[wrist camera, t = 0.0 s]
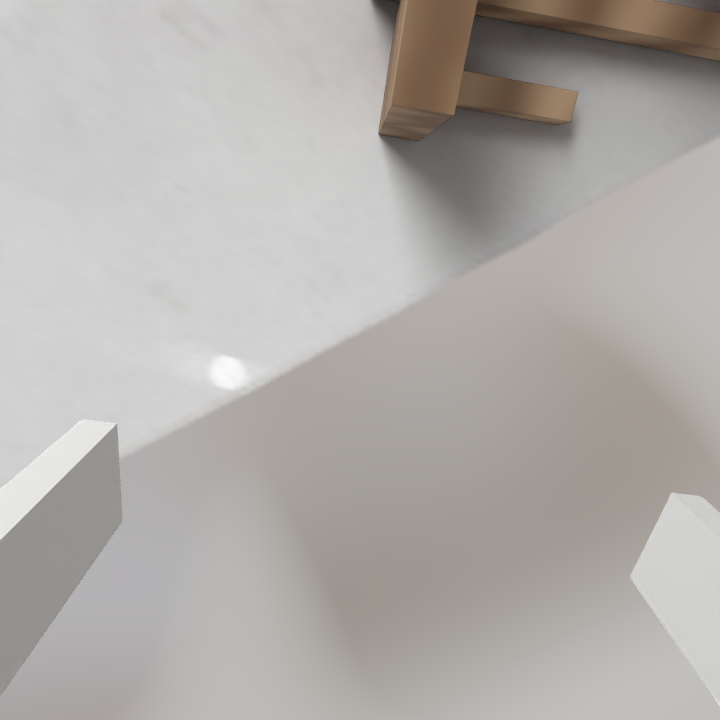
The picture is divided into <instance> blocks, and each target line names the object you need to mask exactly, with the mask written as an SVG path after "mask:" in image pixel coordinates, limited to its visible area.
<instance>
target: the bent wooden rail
mask: <svg viewBox="0 0 720 720" xmlns="http://www.w3.org/2000/svg"><path fill="white" fill-rule="evenodd" d="M393 1H398V2H400V0H393ZM475 14H476V15H481V16H487V17H492V18H497V19H502V20H507V21H513V22H518V23H523V24H528V25H534V26H539V27H544V28H549V29H555V30H560V31H565V32H570V33H576V34H581V35H586V36H591V37H597V38H602V39H607V40H612V41H618V42H623V43H628V44H633V45H639V46H644V47H649V48H654V49H660V50H665V51H670V52H675V53H681V54H686V55H691V56H696V57H701V58H707V59H712V60H717V61H720V13H717V12H712V11H707V10H701V9H696V8H691V7H686V6H681V5H676V4H671V3H666V2H661V1H656V0H478V1H477V5H476V10H475Z"/></svg>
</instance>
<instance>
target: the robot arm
mask: <svg viewBox="0 0 720 720" xmlns="http://www.w3.org/2000/svg"><path fill="white" fill-rule="evenodd" d="M121 522H122V507H121V488H120V469H119V451H118V433H117V424H116V423H108V422H99V421H91V420H83V419H82V420H80V421H79V422H78V423H77V424H76V425H74V426H73V427H72V428H71V429H70V430H69V431H67V432H66V433H65V434H64V435H63V436H62V437H60V438H59V439H58V440H57V441H56V442H55V443H53V444H52V445H51V446H50V447H49V448H48V449H46V450H45V451H44V452H43V453H42V454H40V455H39V456H38V457H37V458H36V459H35V460H33V461H32V462H31V463H30V464H29V465H28V466H26V467H25V468H24V469H23V470H22V471H21V472H19V473H18V474H17V475H16V476H15V477H14V478H12V479H11V480H10V481H9V482H8V483H6V484H5V485H4V486H3V487H2V488H1V489H0V696H1V695H2V693H3V692H4V690H5V689H6V688H7V686H8V685H9V683H10V682H11V680H12V679H13V678H14V676H15V675H16V673H17V672H18V670H19V669H20V667H21V666H22V664H23V663H24V662H25V660H26V659H27V657H28V656H29V655H30V653H31V652H32V650H33V649H34V647H35V646H36V644H37V643H38V642H39V640H40V639H41V637H42V636H43V634H44V633H45V632H46V630H47V629H48V627H49V626H50V624H51V623H52V621H53V620H54V618H55V617H56V616H57V614H58V613H59V611H60V610H61V609H62V607H63V606H64V604H65V603H66V601H67V600H68V598H69V597H70V596H71V594H72V593H73V591H74V590H75V588H76V587H77V585H78V584H79V583H80V581H81V580H82V578H83V577H84V575H85V574H86V573H87V571H88V570H89V568H90V567H91V565H92V564H93V563H94V561H95V560H96V558H97V557H98V555H99V554H100V552H101V551H102V550H103V548H104V547H105V545H106V544H107V542H108V541H109V540H110V538H111V536H112V535H113V534H114V532H115V531H116V529H117V528H118V527H119V525H120V524H121ZM630 579H631V580H632V581H633V583H634V584H635V586H636V587H637V589H638V590H639V591H640V593H641V594H642V596H643V597H644V599H645V600H646V602H647V603H648V604H649V606H650V607H651V609H652V610H653V612H654V613H655V614H656V616H657V617H658V619H659V620H660V622H661V623H662V624H663V626H664V627H665V629H666V630H667V632H668V633H669V634H670V636H671V637H672V639H673V640H674V641H675V643H676V644H677V646H678V647H679V649H680V650H681V651H682V653H683V654H684V656H685V657H686V659H687V660H688V662H689V663H690V665H691V666H692V667H693V668H694V670H695V672H696V673H697V674H698V676H699V677H700V679H701V680H702V682H703V683H704V685H705V686H706V687H707V689H708V690H709V692H710V693H711V695H712V696H713V697H714V699H715V700H716V702H717V703H718V705H719V706H720V513H719V512H718V511H717V510H716V509H715V508H714V507H713V506H712V505H710V504H709V503H708V502H707V501H706V500H705V499H704V498H703V497H701V496H694V495H686V494H678V493H671V495H670V497H669V499H668V501H667V503H666V505H665V507H664V509H663V511H662V513H661V515H660V517H659V519H658V521H657V523H656V525H655V527H654V529H653V532H652V533H651V535H650V537H649V539H648V541H647V543H646V546H645V547H644V550H643V552H642V553H641V556H640V558H639V559H638V562H637V563H636V566H635V568H634V570H633V572H632V574H631V576H630Z"/></svg>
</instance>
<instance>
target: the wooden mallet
mask: <svg viewBox="0 0 720 720" xmlns="http://www.w3.org/2000/svg"><path fill="white" fill-rule="evenodd" d="M477 1H478V0H400V3H399V8H398V12H397V16H396V20H395V26H394V33H393V40H392V46H391V53H390V60H389V67H388V73H387V80H386V87H385V93H384V100H383V107H382V113H381V120H380V127H379V134H380V135H386V136H392V137H397V138H403V139H409V140H415V141H419V140H420V139H422V138H423V137H425V136H426V135H427V134H429V133H430V132H432V131H433V130H434V129H436V128H437V127H439V126H440V125H441V124H443V123H444V122H445V121H447V120H448V119H450V118H451V117H452V116H454V114H455V109H456V107H459V108H465V109H470V110H476V111H482V112H487V113H493V114H499V115H504V116H510V117H516V118H521V119H527V120H533V121H538V122H544V123H550V124H555V125H560V124H563V123H567V122H570V121H571V118H572V114H573V111H574V107H575V104H576V100H577V97H578V93H579V92H577V91H572V90H566V89H561V88H555V87H550V86H544V85H539V84H533V83H528V82H522V81H517V80H511V79H506V78H500V77H495V76H489V75H484V74H478V73H473V72H467V71H463V70H464V65H465V60H466V55H467V50H468V45H469V40H470V35H471V30H472V25H473V20H474V15H475V10H476V5H477Z"/></svg>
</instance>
